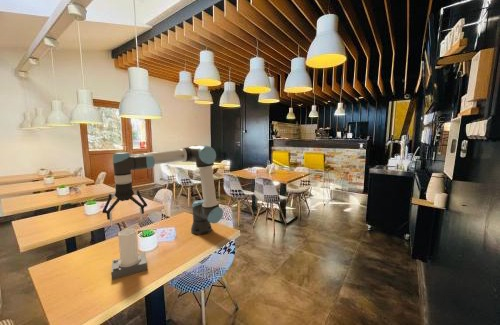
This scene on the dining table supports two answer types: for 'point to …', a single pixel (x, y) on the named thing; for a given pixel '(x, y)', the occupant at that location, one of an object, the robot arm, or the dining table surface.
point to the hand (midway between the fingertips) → (126, 222)
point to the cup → (128, 246)
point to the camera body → (128, 267)
